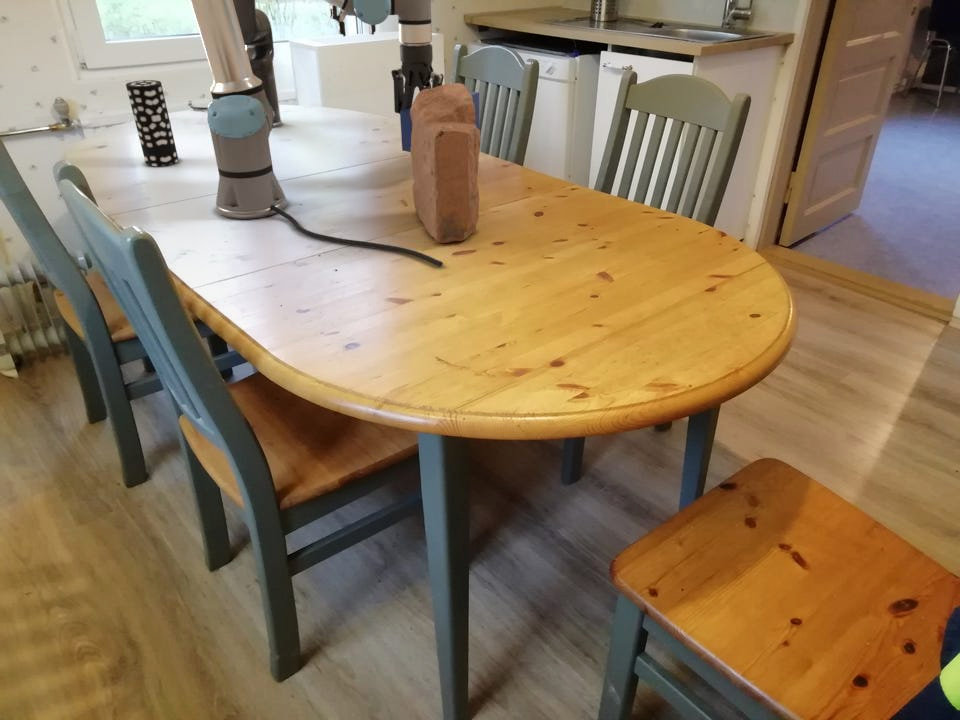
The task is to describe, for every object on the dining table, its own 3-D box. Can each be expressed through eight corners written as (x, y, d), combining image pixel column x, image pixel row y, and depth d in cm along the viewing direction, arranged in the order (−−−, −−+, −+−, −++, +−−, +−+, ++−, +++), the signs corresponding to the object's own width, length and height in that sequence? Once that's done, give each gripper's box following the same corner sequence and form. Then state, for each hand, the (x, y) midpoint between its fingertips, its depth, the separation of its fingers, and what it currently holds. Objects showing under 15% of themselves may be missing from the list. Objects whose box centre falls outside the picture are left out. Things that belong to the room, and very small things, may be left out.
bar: (420, 154, 167) (418, 114, 162) (402, 150, 170) (399, 111, 165) (479, 128, 187) (479, 92, 182) (462, 125, 190) (461, 90, 185)
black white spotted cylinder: (184, 157, 190) (167, 80, 179) (169, 166, 183) (151, 87, 172) (155, 156, 190) (136, 79, 179) (139, 165, 183) (119, 86, 172)
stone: (490, 240, 143) (490, 97, 128) (437, 246, 140) (432, 100, 125) (459, 208, 160) (457, 80, 146) (412, 214, 157) (405, 83, 143)
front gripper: (458, 44, 157) (459, 147, 170) (393, 38, 165) (399, 136, 178) (440, 49, 152) (442, 154, 164) (373, 42, 160) (381, 143, 172)
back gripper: (371, -32, 193) (376, 32, 202) (322, -31, 187) (329, 35, 196) (382, -30, 187) (385, 35, 196) (331, -29, 182) (337, 38, 190)
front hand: (420, 145), depth 171 cm, fingers closed on bar, 5 cm apart
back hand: (357, 35), depth 196 cm, fingers open, 8 cm apart
